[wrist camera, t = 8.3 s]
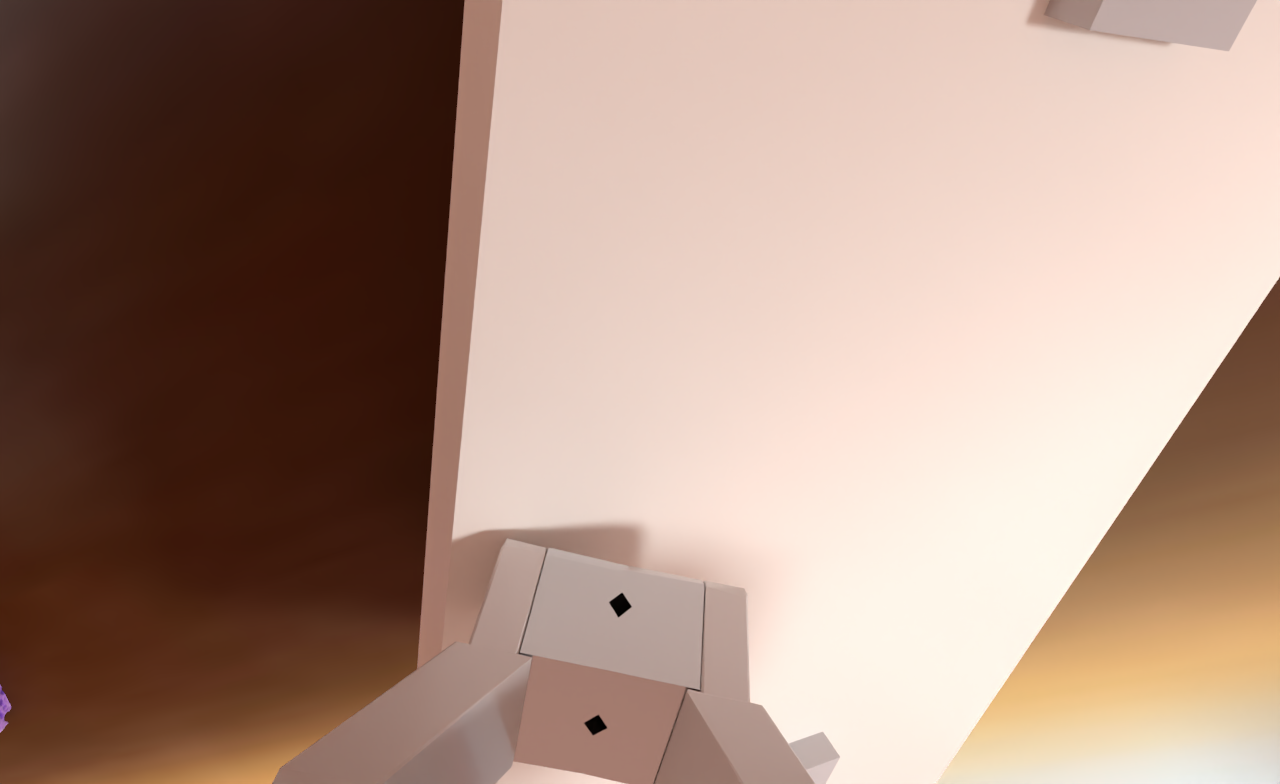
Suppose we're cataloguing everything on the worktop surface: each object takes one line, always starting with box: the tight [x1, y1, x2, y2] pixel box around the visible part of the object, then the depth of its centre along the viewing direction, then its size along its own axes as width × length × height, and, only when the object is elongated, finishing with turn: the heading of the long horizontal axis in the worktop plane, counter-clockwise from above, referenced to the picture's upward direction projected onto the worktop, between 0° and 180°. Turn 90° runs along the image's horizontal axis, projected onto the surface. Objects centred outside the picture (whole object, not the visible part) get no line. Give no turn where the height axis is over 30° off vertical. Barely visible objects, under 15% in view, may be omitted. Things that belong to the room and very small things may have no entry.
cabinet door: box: [417, 0, 1280, 784], centre depth 13 cm, size 26×14×2 cm
